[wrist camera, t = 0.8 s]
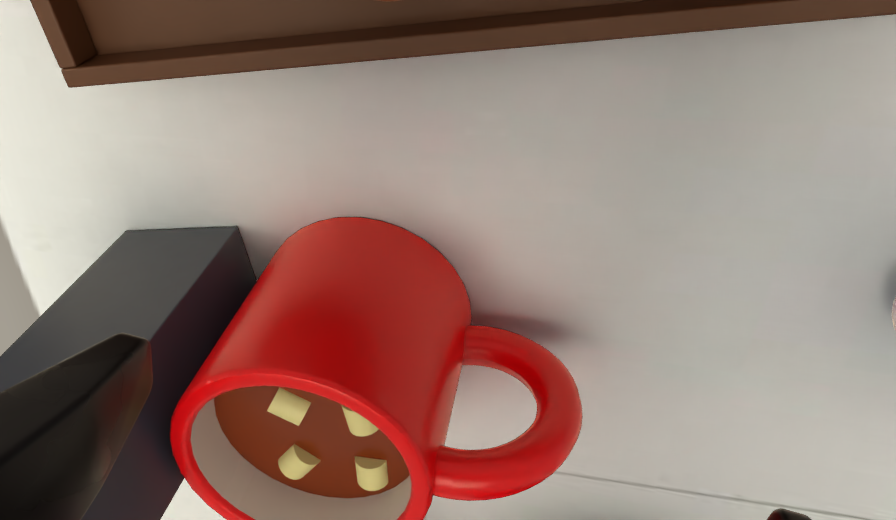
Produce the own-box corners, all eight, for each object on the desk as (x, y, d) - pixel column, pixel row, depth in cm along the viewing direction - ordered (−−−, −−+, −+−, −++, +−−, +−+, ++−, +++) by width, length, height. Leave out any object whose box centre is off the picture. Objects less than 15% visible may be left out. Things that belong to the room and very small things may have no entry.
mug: (575, 407, 29) (568, 594, 22) (281, 373, 30) (196, 538, 24) (596, 236, 24) (596, 408, 18) (251, 208, 26) (137, 356, 20)
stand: (272, 326, 29) (116, 597, 20) (168, 326, 30) (-28, 585, 21) (237, 225, 26) (40, 482, 17) (125, 230, 27) (-120, 474, 18)
